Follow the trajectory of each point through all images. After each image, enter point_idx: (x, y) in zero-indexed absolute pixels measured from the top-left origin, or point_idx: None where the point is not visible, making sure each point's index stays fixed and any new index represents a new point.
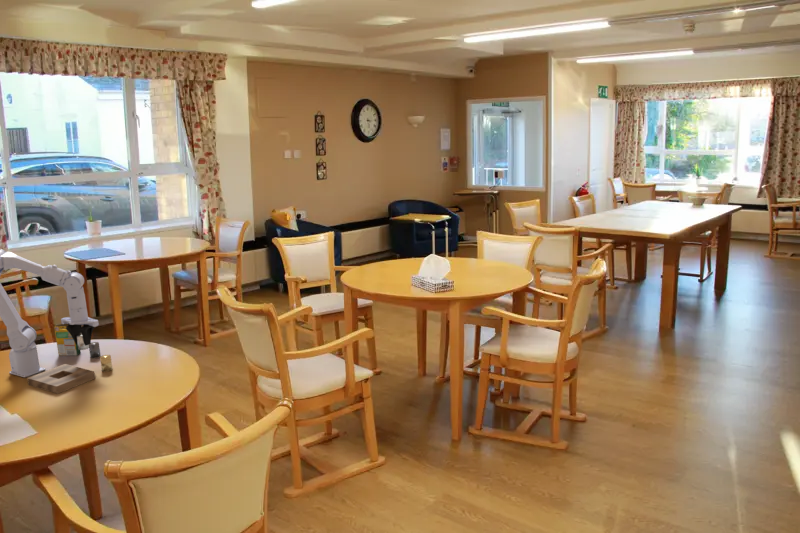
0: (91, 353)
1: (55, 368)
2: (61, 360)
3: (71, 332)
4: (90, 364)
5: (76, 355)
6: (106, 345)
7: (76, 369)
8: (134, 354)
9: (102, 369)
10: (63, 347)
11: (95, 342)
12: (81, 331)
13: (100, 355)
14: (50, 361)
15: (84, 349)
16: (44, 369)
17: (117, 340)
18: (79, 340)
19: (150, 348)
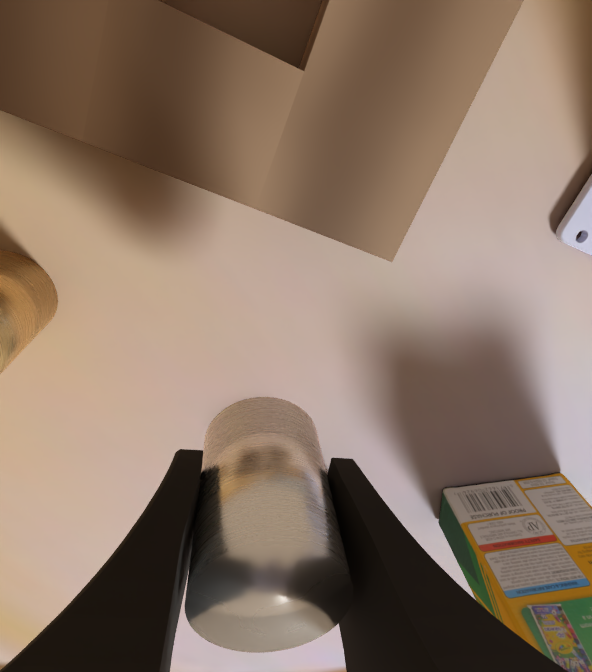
0: None
1: (430, 130)
2: (509, 413)
3: (434, 613)
4: (249, 377)
5: (445, 488)
6: None
7: (165, 114)
8: (53, 552)
9: (9, 259)
10: (557, 523)
11: None
12: (125, 663)
13: None
14: (580, 390)
15: (221, 412)
16: (564, 224)
17: (321, 666)
18: (265, 490)
19: (29, 629)
